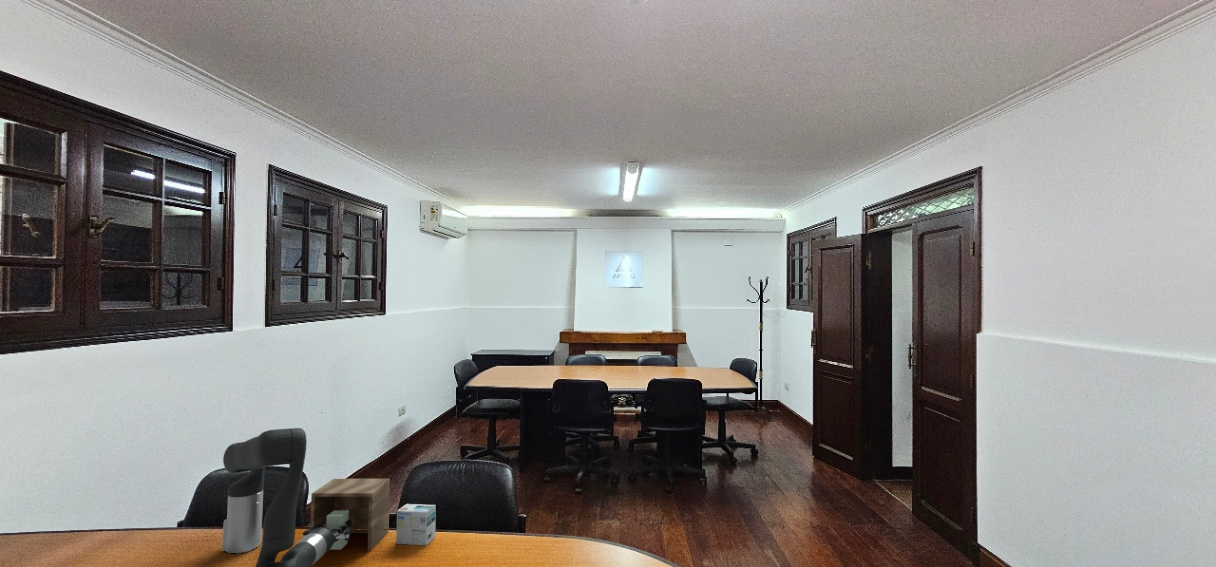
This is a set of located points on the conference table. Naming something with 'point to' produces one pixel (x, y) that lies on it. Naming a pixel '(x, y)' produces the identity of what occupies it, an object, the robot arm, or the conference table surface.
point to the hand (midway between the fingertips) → (341, 522)
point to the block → (333, 520)
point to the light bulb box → (416, 524)
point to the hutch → (355, 505)
